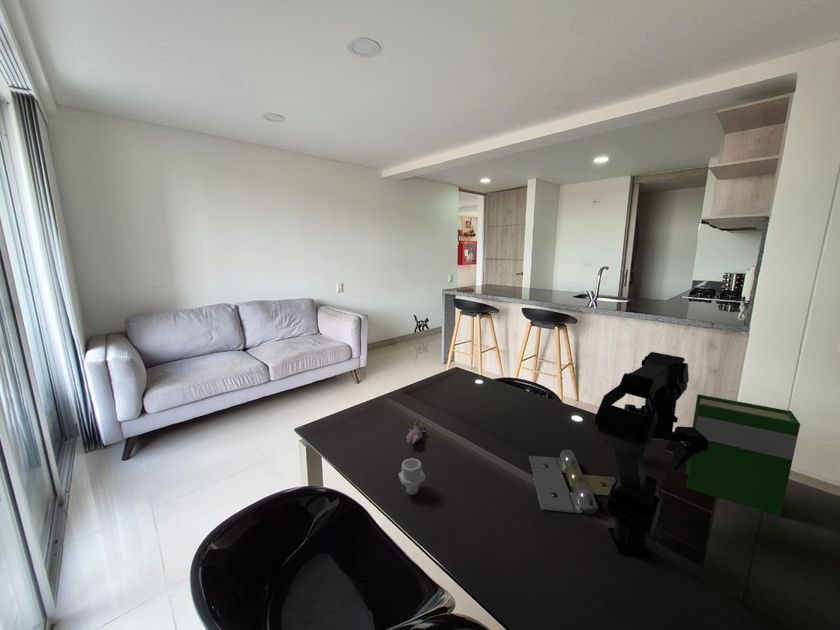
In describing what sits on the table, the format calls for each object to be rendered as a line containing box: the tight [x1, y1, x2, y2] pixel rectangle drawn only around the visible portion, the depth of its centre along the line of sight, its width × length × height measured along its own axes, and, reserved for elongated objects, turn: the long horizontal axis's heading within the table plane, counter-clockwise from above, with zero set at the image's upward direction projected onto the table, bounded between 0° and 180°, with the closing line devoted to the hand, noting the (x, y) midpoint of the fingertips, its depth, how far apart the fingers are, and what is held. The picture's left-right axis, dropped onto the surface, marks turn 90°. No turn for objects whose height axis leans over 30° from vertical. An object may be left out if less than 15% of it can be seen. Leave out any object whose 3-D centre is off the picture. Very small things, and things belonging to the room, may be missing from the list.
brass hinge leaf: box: [565, 464, 617, 495], centre depth 93 cm, size 7×13×4 cm, turn 81°
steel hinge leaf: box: [528, 448, 599, 515], centre depth 94 cm, size 21×13×4 cm, turn 171°
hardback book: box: [685, 393, 801, 517], centre depth 87 cm, size 18×7×24 cm, turn 55°
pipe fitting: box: [398, 457, 426, 495], centre depth 92 cm, size 6×7×8 cm
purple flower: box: [405, 420, 427, 444], centre depth 118 cm, size 6×6×15 cm
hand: (651, 468), depth 81 cm, fingers open, 9 cm apart
